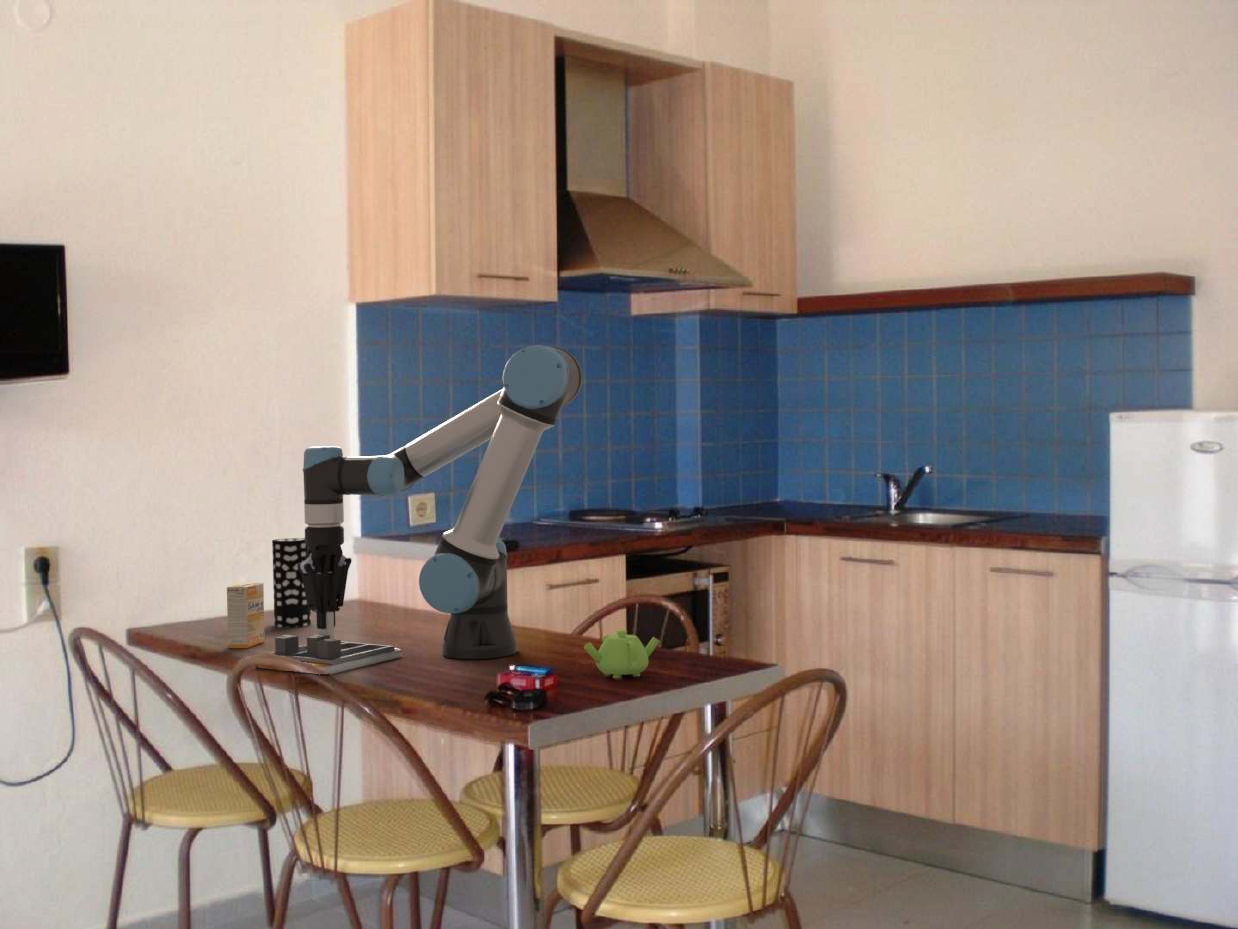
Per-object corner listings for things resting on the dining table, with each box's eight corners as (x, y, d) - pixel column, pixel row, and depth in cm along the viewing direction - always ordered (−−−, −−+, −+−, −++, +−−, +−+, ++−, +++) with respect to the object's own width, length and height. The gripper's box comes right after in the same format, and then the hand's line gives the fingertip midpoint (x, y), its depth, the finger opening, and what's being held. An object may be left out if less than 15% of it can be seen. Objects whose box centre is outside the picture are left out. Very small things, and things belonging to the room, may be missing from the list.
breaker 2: (341, 660, 265) (340, 638, 265) (328, 663, 262) (327, 641, 262) (330, 659, 266) (330, 637, 266) (317, 662, 263) (317, 640, 263)
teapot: (640, 684, 245) (639, 636, 244) (580, 680, 249) (579, 633, 249) (661, 672, 255) (661, 627, 255) (604, 669, 259) (603, 624, 259)
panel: (401, 657, 277) (401, 644, 277) (325, 675, 258) (324, 662, 258) (334, 650, 286) (333, 638, 286) (255, 668, 267) (255, 655, 267)
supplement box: (248, 649, 290) (246, 586, 290) (227, 648, 291) (225, 586, 291) (266, 642, 298) (264, 582, 298) (245, 642, 299) (243, 581, 299)
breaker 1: (298, 656, 270) (298, 634, 270) (285, 659, 267) (284, 637, 267) (289, 655, 272) (288, 634, 272) (275, 658, 269) (275, 636, 268)
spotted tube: (318, 623, 324) (316, 538, 324) (292, 628, 317) (290, 541, 317) (293, 621, 329) (290, 537, 328) (266, 626, 322) (264, 540, 321)
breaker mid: (330, 655, 270) (329, 634, 270) (317, 658, 267) (316, 637, 267) (320, 654, 271) (319, 633, 271) (307, 657, 268) (306, 636, 268)
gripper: (333, 522, 278) (335, 638, 279) (286, 527, 267) (288, 648, 268) (361, 523, 274) (363, 641, 275) (314, 528, 263) (317, 651, 264)
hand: (326, 644), depth 271 cm, fingers closed
